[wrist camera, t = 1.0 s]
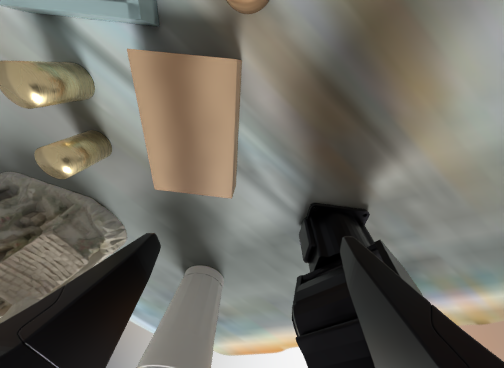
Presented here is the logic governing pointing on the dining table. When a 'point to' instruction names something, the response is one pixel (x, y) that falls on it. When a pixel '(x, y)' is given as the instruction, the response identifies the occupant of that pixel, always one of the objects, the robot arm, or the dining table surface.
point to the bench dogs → (51, 93)
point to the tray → (93, 9)
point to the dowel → (247, 5)
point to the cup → (187, 323)
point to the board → (189, 119)
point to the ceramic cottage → (48, 239)
